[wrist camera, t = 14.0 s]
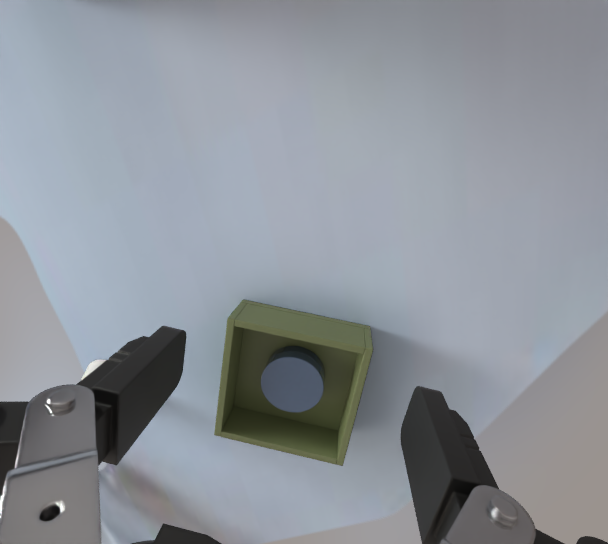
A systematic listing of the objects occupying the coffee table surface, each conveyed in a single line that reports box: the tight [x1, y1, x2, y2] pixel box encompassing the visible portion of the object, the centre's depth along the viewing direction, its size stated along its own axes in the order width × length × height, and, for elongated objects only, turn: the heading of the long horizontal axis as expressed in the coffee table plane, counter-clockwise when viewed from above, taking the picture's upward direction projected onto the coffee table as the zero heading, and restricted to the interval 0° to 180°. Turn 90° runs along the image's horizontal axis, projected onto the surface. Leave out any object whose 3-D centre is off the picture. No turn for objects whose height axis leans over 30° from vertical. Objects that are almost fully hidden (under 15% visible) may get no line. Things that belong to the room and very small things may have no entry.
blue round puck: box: [261, 346, 325, 413], centre depth 35 cm, size 6×6×2 cm
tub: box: [214, 300, 373, 466], centre depth 35 cm, size 13×13×5 cm
